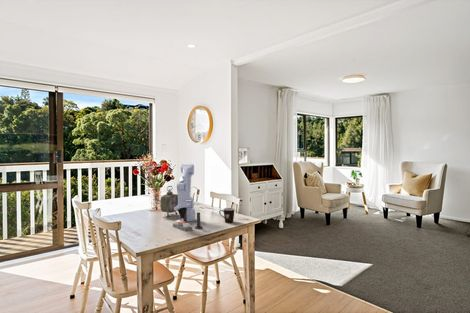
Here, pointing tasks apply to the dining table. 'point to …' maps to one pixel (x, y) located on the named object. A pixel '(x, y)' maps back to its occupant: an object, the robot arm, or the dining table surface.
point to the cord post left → (185, 217)
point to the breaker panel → (182, 226)
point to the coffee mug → (228, 214)
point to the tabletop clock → (169, 202)
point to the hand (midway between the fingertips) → (182, 218)
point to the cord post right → (198, 221)
